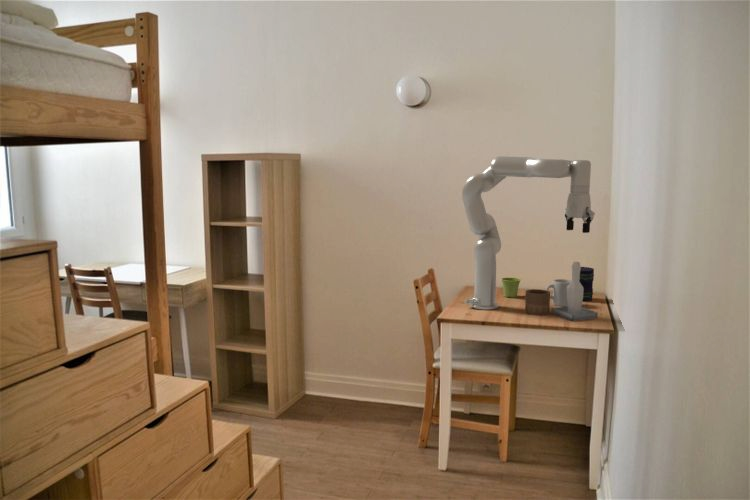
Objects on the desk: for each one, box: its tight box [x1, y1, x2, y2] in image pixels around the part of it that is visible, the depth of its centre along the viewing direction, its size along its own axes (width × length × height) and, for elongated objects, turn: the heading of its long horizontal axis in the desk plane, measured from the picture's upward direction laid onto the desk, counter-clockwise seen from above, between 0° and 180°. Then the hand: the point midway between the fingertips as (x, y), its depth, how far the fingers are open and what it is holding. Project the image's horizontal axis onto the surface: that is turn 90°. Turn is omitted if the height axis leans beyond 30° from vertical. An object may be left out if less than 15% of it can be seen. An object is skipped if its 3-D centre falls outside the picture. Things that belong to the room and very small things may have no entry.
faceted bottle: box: [566, 261, 584, 314], centre depth 250 cm, size 6×6×22 cm
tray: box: [551, 306, 599, 322], centre depth 251 cm, size 13×13×2 cm
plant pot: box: [500, 277, 522, 299], centre depth 287 cm, size 9×9×9 cm
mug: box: [545, 278, 572, 307], centre depth 271 cm, size 12×8×11 cm
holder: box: [524, 288, 551, 316], centre depth 257 cm, size 10×10×9 cm
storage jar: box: [579, 266, 595, 303], centre depth 281 cm, size 10×10×15 cm
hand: (577, 231), depth 246 cm, fingers open, 9 cm apart
